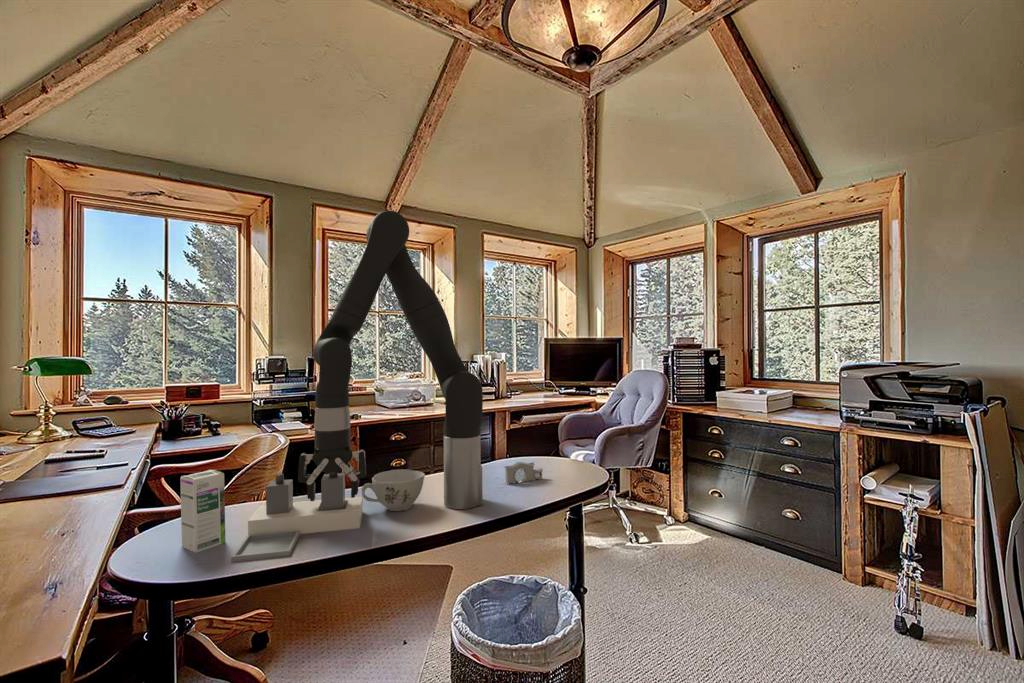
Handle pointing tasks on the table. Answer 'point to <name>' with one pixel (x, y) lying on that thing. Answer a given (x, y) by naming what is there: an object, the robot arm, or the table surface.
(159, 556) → the table surface
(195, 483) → the syrup box
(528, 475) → the garden wall model
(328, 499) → the plug
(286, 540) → the tray
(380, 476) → the teacup
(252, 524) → the power strip
